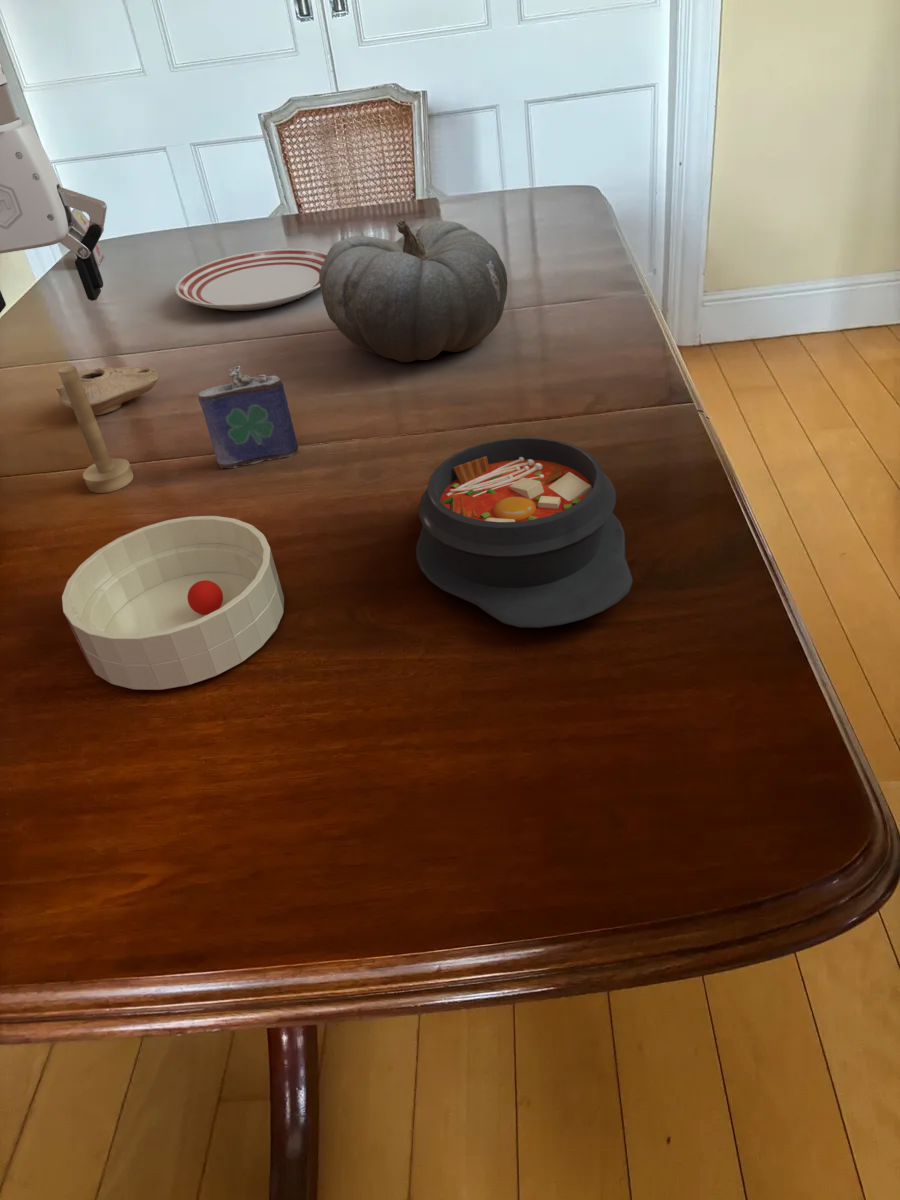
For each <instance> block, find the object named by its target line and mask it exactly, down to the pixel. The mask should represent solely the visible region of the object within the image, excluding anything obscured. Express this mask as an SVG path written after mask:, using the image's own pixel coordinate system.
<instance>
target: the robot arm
mask: <svg viewBox="0 0 900 1200" xmlns="http://www.w3.org/2000/svg"><path fill="white" fill-rule="evenodd" d="M107 206H108V205H107V203H106V202H105V201H103V200H101V199H98V198H96V197H93V196H89V195H86V194H84V193H79V192H77V191H74V190H71V189H68V188H65V187H63V186H62V184H61V182H60V179H59V177H58V174H57V172H56V171H55V168H54V166H53V164H52V162H51V160H50V158H49V156H48V153H47V151H46V150H45V148H44V146H43V144H42V142H41V140H40V139H39V137H38V135H37V133H36V131H35V130H34V128H33V127H32V124H30V122H29V121H22V119H21V116H20V113H19V110H18V108H17V105H16V102H15V99H14V97H13V94H12V91H11V88H10V86H9V83H8V80H7V78H6V75H5V72H4V70H3V67H2V64H1V63H0V255H1V254H8V253H14V252H19V251H20V252H21V251H27V250H32V249H39V248H44V247H50V246H54V245H56V244H59V243H60V244H61V245H62V246H64V247H65V248H67V249H68V250H70V252H72V253H73V254H74V253H75V254H76V256H77V259H76V258H75V261H74V265H75V268H76V270H77V273H78V276H79V278H80V279H79V280H80V281H81V284H82V287H83V290H84V293H85V295H86V298H87V300H90V301H91V302H92V301H97V300H98V298H99V296H100V294H101V292H102V288H103V287H104V280H103V277H102V274H101V271H100V268H99V266H98V265H97V263H96V260H95V257H94V254H93V250H94V248H95V246H96V244H97V242H98V240H99V241H100V239H101V237H102V236H103V233H104V230H105V222H106V216H107V210H108V207H107ZM72 209H77V210H80V211H82V212H83V213H84V214H86V215H88V218H89V219H88V220H89V228H88V230H87V232H86V234H83V233H82V232H81V231H79V230H78V229H77V228H75V227H74V219H73V215H72V212H71V211H72ZM6 307H7V303H6V301H5V298H4V295H3V294H2V291H1V290H0V314H1V313H2V311H3V310H4V309H5V308H6Z"/></svg>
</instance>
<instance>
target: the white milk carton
mask: <svg viewBox="0 0 900 1200" xmlns="http://www.w3.org/2000/svg"><path fill="white" fill-rule="evenodd" d="M71 212H72V215H73V219H74V227H75V228H77V229H78V230H79V231H81V232H82V233H83V234H86V232H87V230H88V228H89V220H90V219H88V217H87V216H86V215H85V213H84V212H83V211H80V210H77V209H74V208H72V209H71ZM93 254H94V257H95V260H96V263H97V265H99V263H100V262H101V263H102V261H103V259H104V258H103V256H104V257H105V255H104V251H103V249H102V247H101V243H100V239H99V240H98V242H97V244H96V246H95V248H94V250H93ZM73 255H74V258H75V260H76V259H77V256H76V254H75V253H74V252H73ZM102 258H103V259H102ZM101 260H102V261H101ZM101 263H100V264H101ZM99 266H100V265H99Z"/></svg>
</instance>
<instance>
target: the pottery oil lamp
mask: <svg viewBox="0 0 900 1200" xmlns="http://www.w3.org/2000/svg"><path fill="white" fill-rule="evenodd" d="M77 372H78V374H79V377H80V380H81V382H82V385H83V387H84V390H85V393H86V395H87V398H88V400H89V403H90V406H91V408H92V411H93V413H94V416H101V415H104V414H105V415H106V414H109V413H111V412H113V411H116V410H118V409H120V408H121V407H122V404H123V403H125V402H128V401H130V400H132V399H134V398H136V397H138V396H141V395H144V394H145V393H148V392H149V391H150V390H152V389H153V388H154V387H155V386H156V385H157V382H158V381H159V378H160V376H159V374H158V372H157V371H156V370H155V368H153V367H150V366H121V367H102V368H101V367H100V368H99V367H98V368H91V369H90V368H89V369H82V370H77ZM55 391H57V393H58V401H59V404H60V405H62V406H64V407H66V408H68V409H72V410H73V408H72V405H71V403H70V400H69V398H68V395H67V392H66V390H65V387H64V385H63V382H61V383H60V384H59V385H57V386H55Z"/></svg>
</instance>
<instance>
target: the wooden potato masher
mask: <svg viewBox="0 0 900 1200" xmlns="http://www.w3.org/2000/svg"><path fill="white" fill-rule="evenodd" d="M57 372H58V375H59V377H60V380H61V383H63V385H64V387H65V390H66V392H67V395H68V398H69V400H70V403H71V405H72V408H73V409H72V410H73V412H74V416H75V417H76V421H77V423H78V426H79V427H80V430H81V433H82V435H83V437H84V440H85V442H86V445H87V447H88V450H89V453H90V456H91V458H92V460H93V463H92V464H91V465H90V466H88V467H87V468H85V470H84V471H83V473H82V478H83V480H84V483H85V485H86V487H87V490H88V491H89V492H91V493H94V494H106V493H112V492H115V491H118V490H121V489H123V488H124V487H125V488H126V486H128V485H129V484H130V483H131V482H132V481H133V480H134V477H135V474H134V472H133V470H132V469H133V468H132V467H131V463H130V462H129V461H128V460H127V459H126V458H122V457H121V458H120V457H111V455H110V453H109V449H108V448H107V445H106V443H105V439H104V436H103V435H102V432H101V429H100V427H99V426H100V425H99V424H98V422H97V419H96V415H94V413H93V411H92V408H91V406H90V403H89V400H88V398H87V395H86V393H85V390H84V387H83V385H82V382H81V380H80V377H79V374H78V369H77V367H76V365H73V364H71V365H65V366H62V367H60V368H58V370H57Z"/></svg>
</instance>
